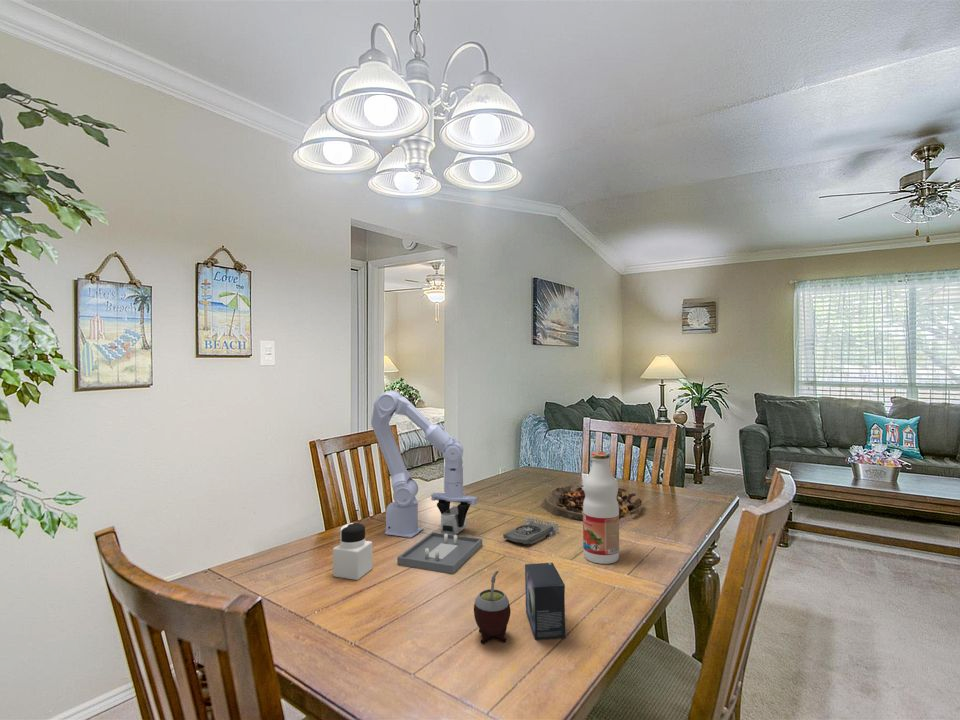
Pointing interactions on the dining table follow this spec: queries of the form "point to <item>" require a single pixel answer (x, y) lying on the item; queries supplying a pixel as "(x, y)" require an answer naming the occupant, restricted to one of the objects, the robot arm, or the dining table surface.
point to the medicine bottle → (352, 553)
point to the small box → (545, 601)
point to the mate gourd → (492, 613)
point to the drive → (451, 521)
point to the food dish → (572, 503)
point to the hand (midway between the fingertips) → (454, 525)
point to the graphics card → (532, 531)
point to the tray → (440, 552)
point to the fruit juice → (600, 512)
